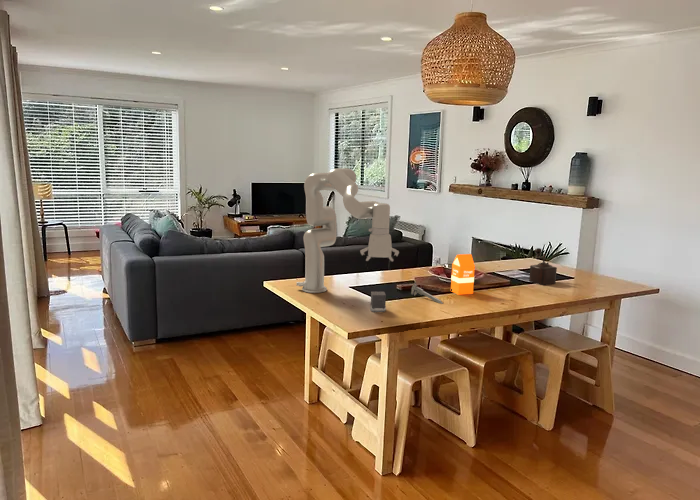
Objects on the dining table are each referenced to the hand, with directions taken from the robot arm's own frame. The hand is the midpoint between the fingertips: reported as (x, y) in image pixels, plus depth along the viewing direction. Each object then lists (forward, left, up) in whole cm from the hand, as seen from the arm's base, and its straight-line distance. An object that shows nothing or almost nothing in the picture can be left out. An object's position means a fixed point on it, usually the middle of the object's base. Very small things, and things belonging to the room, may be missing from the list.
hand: (378, 269), depth 240 cm
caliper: (+26, +20, -20) cm, 38 cm away
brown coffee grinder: (+98, +58, -19) cm, 116 cm away
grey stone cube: (0, 0, -17) cm, 17 cm away
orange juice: (+47, +33, -19) cm, 61 cm away
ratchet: (0, +7, -19) cm, 20 cm away
